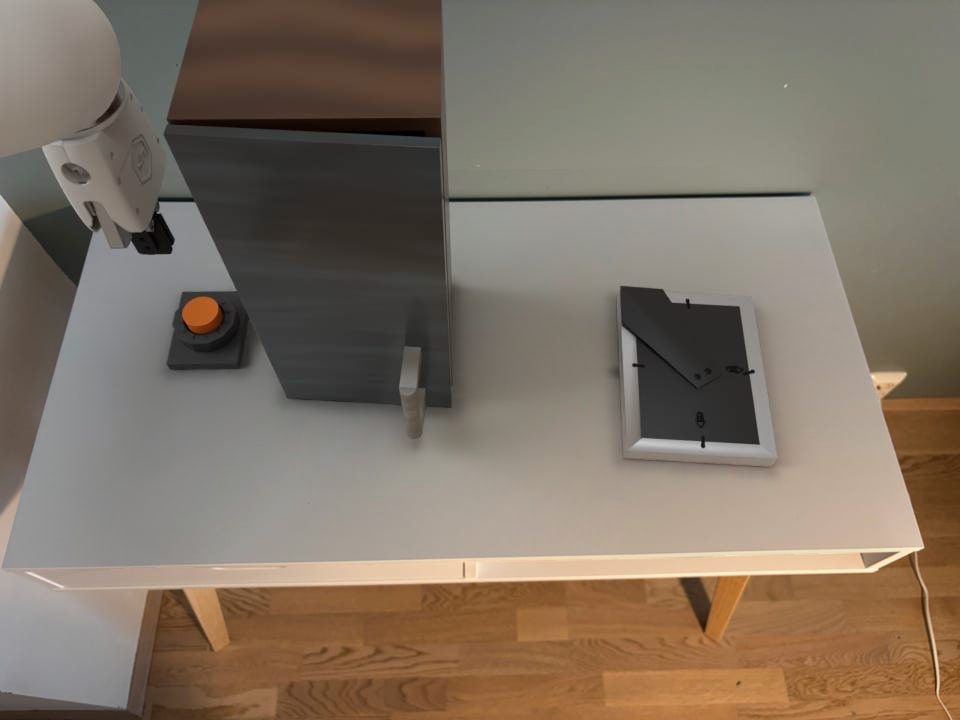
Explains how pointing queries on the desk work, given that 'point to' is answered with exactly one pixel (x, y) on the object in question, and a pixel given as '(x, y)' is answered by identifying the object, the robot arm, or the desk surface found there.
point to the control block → (210, 335)
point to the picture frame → (692, 379)
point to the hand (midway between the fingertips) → (157, 247)
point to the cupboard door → (332, 256)
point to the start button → (202, 315)
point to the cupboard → (319, 72)
